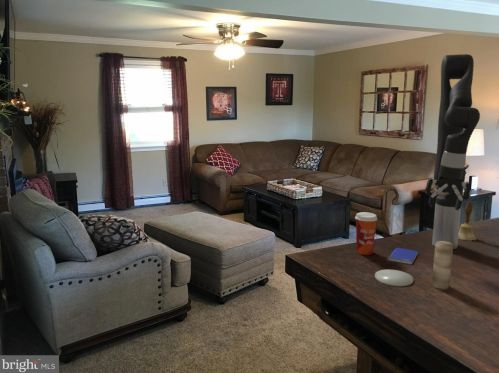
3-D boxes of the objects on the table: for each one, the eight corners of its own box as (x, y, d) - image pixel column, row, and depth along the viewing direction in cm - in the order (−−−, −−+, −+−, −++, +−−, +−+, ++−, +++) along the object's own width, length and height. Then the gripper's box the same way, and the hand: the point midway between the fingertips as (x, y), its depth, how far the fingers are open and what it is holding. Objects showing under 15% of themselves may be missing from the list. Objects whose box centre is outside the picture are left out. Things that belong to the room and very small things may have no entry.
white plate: (377, 268, 146) (377, 267, 146) (414, 274, 141) (414, 272, 141) (372, 282, 135) (372, 280, 135) (411, 289, 130) (412, 287, 130)
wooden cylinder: (432, 281, 135) (435, 240, 133) (449, 284, 133) (453, 242, 131) (431, 287, 131) (435, 245, 128) (449, 290, 129) (453, 247, 126)
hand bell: (469, 234, 183) (472, 198, 179) (480, 240, 175) (484, 203, 171) (450, 234, 182) (454, 199, 179) (461, 241, 174) (465, 203, 171)
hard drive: (411, 261, 150) (417, 251, 160) (388, 257, 154) (395, 247, 164) (411, 265, 150) (417, 254, 160) (388, 261, 154) (395, 251, 164)
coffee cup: (360, 256, 157) (362, 218, 154) (349, 249, 165) (351, 212, 162) (380, 254, 159) (382, 216, 156) (368, 247, 167) (370, 211, 164)
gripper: (471, 164, 149) (462, 207, 153) (429, 160, 152) (421, 202, 156) (477, 169, 142) (467, 214, 146) (433, 164, 144) (424, 209, 149)
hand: (443, 208), depth 151 cm, fingers open, 8 cm apart
